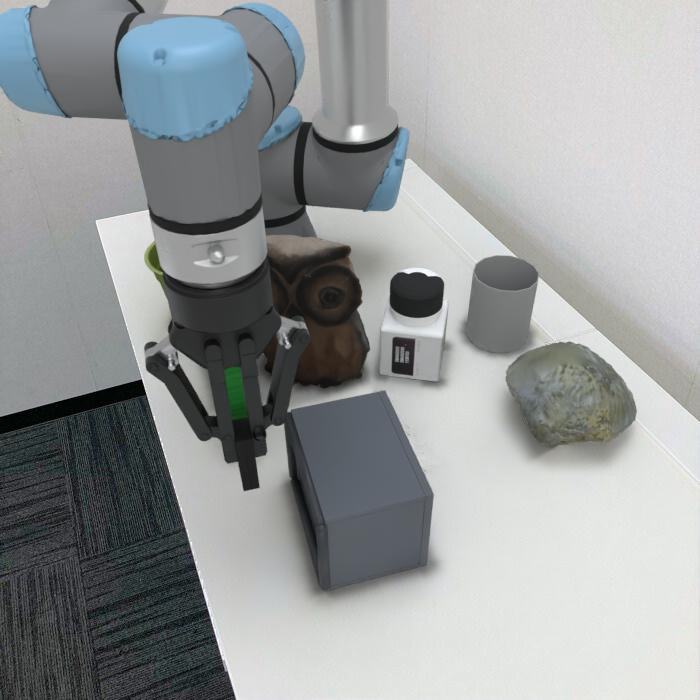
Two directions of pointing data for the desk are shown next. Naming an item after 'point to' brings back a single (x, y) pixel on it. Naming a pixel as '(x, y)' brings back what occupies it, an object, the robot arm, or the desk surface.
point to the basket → (358, 489)
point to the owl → (318, 307)
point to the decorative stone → (570, 394)
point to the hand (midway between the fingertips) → (249, 478)
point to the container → (414, 326)
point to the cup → (501, 303)
